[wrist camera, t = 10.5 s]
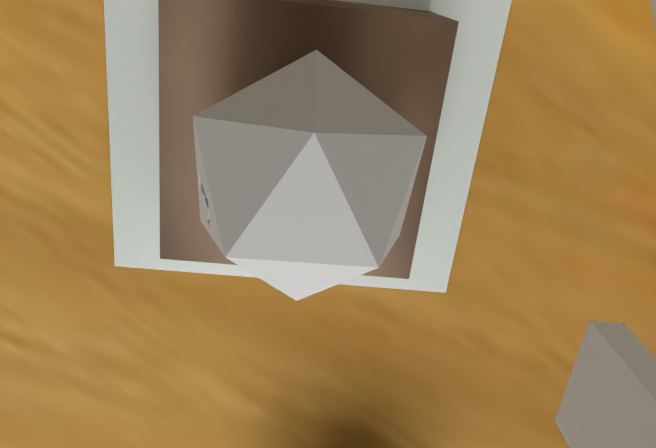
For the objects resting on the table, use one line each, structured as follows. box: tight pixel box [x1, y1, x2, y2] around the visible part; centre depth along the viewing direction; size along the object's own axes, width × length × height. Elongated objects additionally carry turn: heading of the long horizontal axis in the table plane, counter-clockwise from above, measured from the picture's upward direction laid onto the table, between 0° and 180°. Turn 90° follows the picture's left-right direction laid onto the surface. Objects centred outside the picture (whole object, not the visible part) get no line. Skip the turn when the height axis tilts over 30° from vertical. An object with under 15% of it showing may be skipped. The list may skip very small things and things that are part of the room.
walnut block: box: [158, 0, 459, 279], centre depth 28 cm, size 12×12×6 cm
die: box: [193, 50, 427, 301], centre depth 22 cm, size 8×9×10 cm
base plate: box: [104, 0, 512, 293], centre depth 31 cm, size 20×20×1 cm
